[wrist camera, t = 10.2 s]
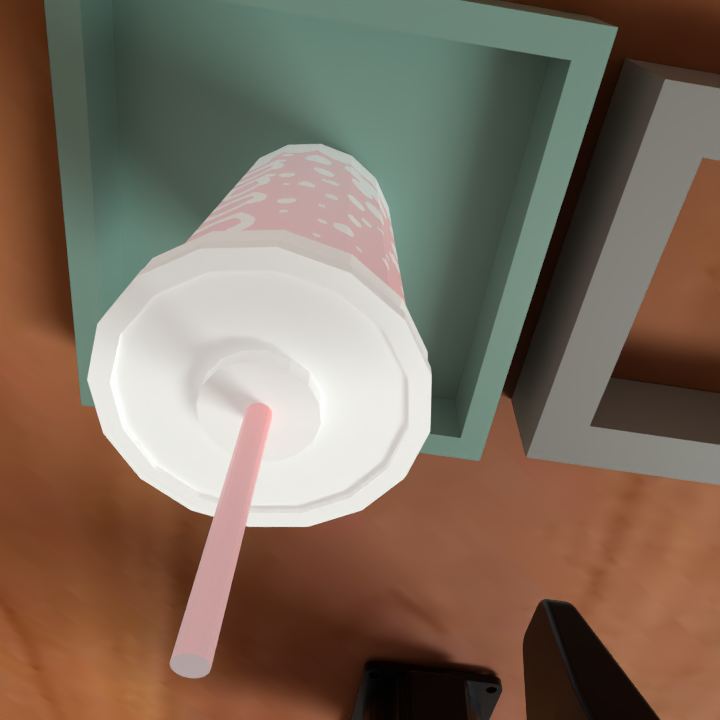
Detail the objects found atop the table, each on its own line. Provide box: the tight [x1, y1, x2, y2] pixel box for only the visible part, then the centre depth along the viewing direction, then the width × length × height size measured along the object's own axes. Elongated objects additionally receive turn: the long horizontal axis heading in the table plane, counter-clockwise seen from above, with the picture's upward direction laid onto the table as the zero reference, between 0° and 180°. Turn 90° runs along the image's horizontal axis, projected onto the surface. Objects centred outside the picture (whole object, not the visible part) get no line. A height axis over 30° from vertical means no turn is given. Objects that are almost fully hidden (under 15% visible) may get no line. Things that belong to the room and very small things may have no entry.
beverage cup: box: [87, 144, 432, 678], centre depth 14 cm, size 6×6×14 cm
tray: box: [44, 0, 618, 461], centre depth 19 cm, size 13×13×2 cm
